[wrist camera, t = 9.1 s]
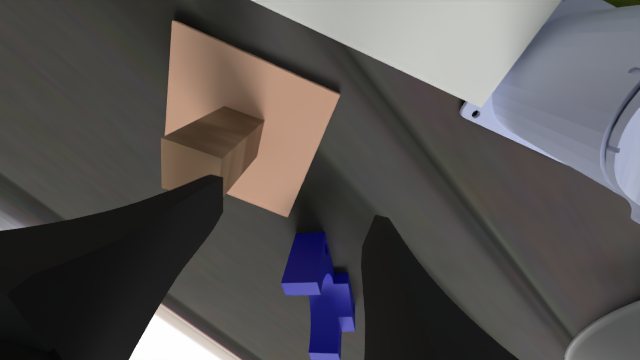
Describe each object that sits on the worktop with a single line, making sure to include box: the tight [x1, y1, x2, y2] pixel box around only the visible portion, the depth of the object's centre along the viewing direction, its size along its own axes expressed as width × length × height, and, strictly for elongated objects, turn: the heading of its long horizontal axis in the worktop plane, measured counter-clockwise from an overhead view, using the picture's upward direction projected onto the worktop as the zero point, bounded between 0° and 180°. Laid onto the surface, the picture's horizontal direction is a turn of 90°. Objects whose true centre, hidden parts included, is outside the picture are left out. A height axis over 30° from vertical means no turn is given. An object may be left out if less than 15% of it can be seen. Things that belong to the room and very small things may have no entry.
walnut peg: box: [161, 106, 265, 197], centre depth 16 cm, size 3×3×7 cm
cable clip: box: [281, 232, 355, 360], centre depth 25 cm, size 12×4×6 cm, turn 11°
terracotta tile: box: [165, 20, 340, 217], centre depth 20 cm, size 12×12×1 cm
